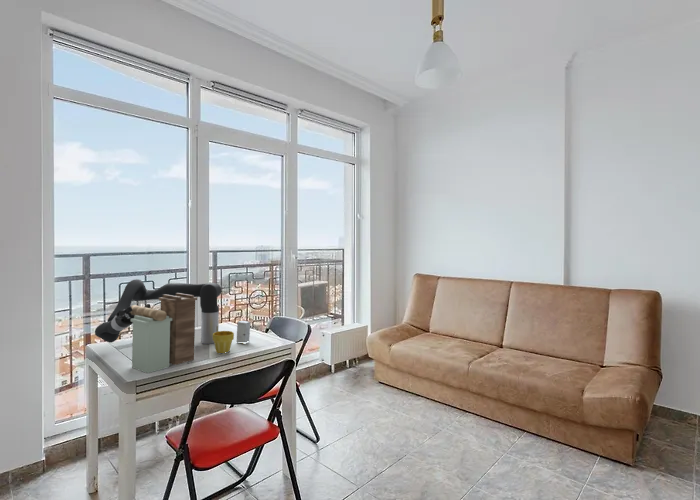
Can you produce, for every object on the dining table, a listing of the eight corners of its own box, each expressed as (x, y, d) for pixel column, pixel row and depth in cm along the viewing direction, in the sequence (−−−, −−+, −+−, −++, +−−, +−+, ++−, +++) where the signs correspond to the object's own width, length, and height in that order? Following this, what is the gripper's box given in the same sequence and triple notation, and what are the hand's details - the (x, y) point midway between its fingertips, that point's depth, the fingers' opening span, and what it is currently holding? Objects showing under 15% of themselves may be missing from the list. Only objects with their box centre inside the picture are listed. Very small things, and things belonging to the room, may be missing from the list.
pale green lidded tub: (129, 368, 169) (130, 316, 169) (155, 361, 179) (156, 312, 179) (145, 373, 163) (146, 319, 162) (171, 366, 173) (172, 315, 173)
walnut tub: (157, 360, 180) (158, 295, 180) (180, 354, 191) (181, 292, 190) (173, 365, 174) (174, 297, 173) (195, 359, 184) (197, 294, 184)
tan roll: (129, 315, 176) (128, 306, 176) (138, 313, 180) (137, 304, 179) (157, 322, 165) (156, 312, 164) (167, 319, 168) (166, 309, 168)
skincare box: (236, 343, 214) (236, 321, 214) (241, 341, 219) (241, 320, 218) (245, 344, 212) (245, 323, 212) (250, 342, 216) (250, 321, 216)
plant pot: (227, 355, 192) (227, 336, 191) (208, 353, 194) (208, 334, 193) (236, 349, 202) (237, 331, 202) (218, 348, 204) (219, 330, 203)
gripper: (105, 315, 177) (122, 301, 170) (136, 311, 189) (153, 297, 182) (109, 330, 175) (126, 316, 168) (140, 325, 188) (157, 312, 180)
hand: (140, 306), depth 175 cm, fingers open, 8 cm apart
